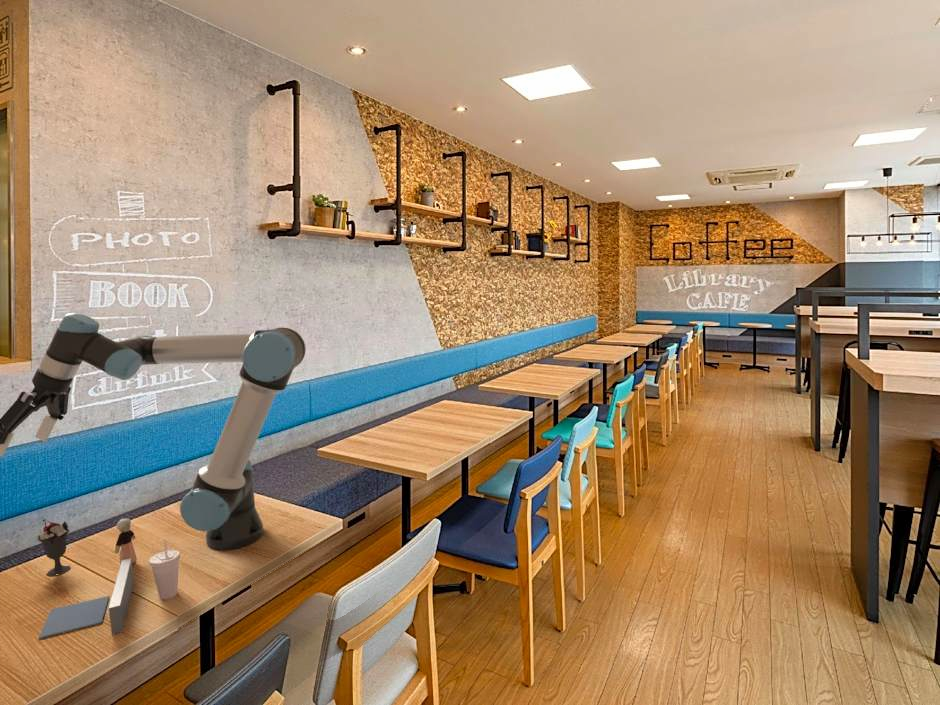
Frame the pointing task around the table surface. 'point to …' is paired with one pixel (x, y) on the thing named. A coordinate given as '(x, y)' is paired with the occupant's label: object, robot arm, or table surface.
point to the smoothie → (165, 571)
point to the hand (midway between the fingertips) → (19, 446)
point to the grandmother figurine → (125, 541)
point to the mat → (74, 617)
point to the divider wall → (121, 596)
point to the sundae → (55, 544)
